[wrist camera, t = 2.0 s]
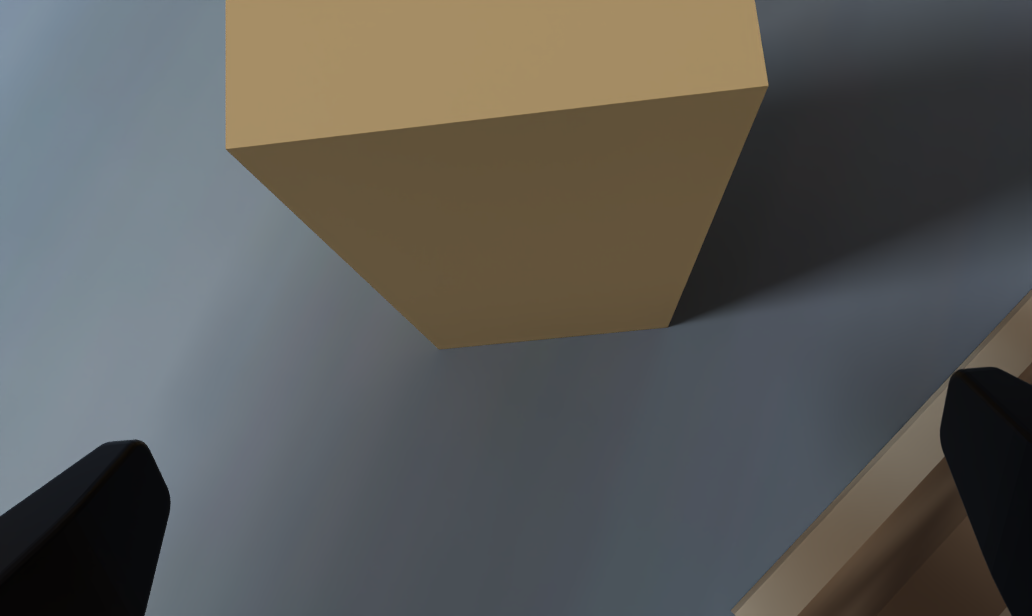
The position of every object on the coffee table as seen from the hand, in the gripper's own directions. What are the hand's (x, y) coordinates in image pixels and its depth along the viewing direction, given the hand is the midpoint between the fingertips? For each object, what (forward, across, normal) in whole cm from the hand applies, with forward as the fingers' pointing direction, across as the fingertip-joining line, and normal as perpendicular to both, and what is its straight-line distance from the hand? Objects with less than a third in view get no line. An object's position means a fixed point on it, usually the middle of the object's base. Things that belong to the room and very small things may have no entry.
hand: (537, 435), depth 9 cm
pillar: (+13, 0, +4) cm, 13 cm away
